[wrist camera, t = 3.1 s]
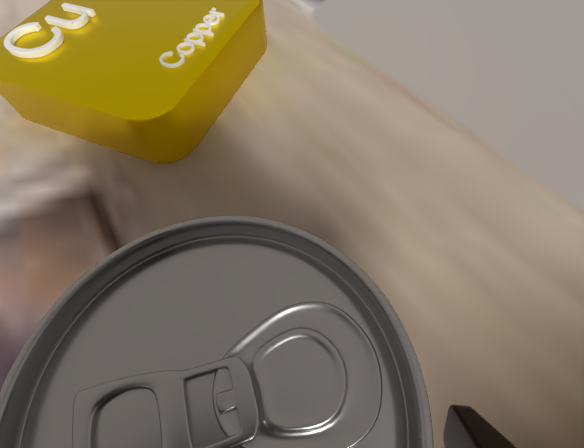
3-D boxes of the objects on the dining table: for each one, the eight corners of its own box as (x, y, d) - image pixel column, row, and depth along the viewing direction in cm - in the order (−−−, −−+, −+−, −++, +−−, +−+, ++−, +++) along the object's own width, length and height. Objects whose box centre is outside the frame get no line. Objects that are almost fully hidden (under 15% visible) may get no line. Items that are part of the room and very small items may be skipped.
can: (378, 473, 14) (614, 662, 3) (219, 535, 13) (-163, 1056, 2) (322, 318, 17) (348, 153, 6) (192, 360, 16) (-27, 255, 5)
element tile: (181, 175, 22) (151, 119, 18) (9, 116, 25) (-49, 57, 21) (276, 42, 29) (271, -22, 24) (130, 9, 32) (103, -52, 28)
